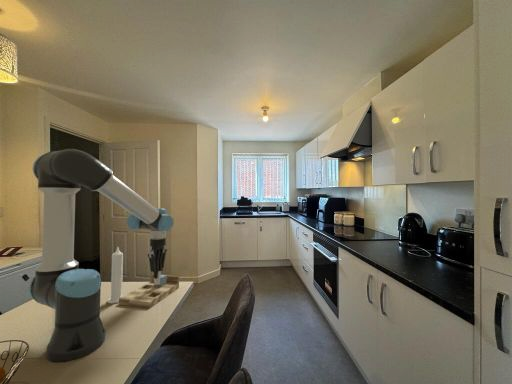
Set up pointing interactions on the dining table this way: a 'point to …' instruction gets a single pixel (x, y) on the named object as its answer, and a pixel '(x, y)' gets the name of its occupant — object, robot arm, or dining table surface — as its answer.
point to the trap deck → (150, 293)
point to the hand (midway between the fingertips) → (157, 284)
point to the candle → (116, 277)
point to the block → (162, 280)
